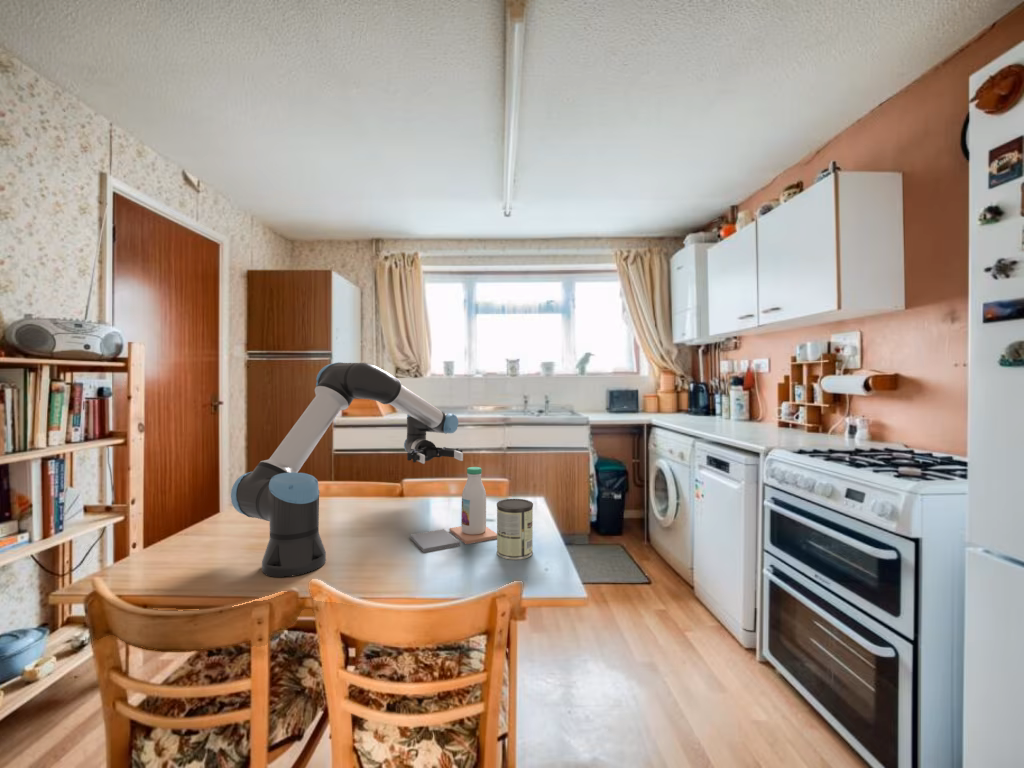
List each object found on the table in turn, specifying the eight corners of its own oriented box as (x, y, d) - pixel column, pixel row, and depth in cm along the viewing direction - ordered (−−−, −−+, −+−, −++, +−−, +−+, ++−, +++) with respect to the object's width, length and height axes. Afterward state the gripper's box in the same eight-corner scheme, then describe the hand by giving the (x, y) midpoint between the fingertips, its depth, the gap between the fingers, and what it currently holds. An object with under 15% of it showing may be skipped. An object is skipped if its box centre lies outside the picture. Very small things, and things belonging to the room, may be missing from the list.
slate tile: (423, 552, 130) (423, 548, 130) (410, 537, 141) (410, 534, 141) (459, 545, 135) (459, 542, 135) (443, 532, 146) (443, 529, 146)
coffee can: (498, 545, 135) (499, 497, 135) (533, 546, 134) (534, 499, 134) (494, 559, 125) (494, 507, 125) (531, 561, 124) (532, 509, 124)
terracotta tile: (465, 544, 136) (465, 540, 136) (449, 531, 147) (449, 528, 147) (498, 538, 141) (498, 534, 141) (480, 525, 153) (480, 522, 153)
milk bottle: (486, 527, 148) (487, 465, 148) (485, 535, 141) (486, 470, 140) (462, 527, 148) (463, 465, 148) (460, 535, 141) (461, 470, 140)
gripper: (454, 457, 180) (476, 466, 161) (390, 461, 168) (406, 472, 149) (454, 438, 180) (477, 445, 161) (390, 441, 168) (407, 449, 149)
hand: (443, 458), depth 155 cm, fingers open, 13 cm apart
